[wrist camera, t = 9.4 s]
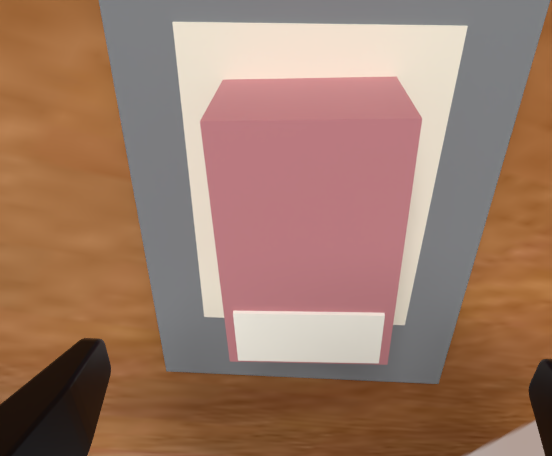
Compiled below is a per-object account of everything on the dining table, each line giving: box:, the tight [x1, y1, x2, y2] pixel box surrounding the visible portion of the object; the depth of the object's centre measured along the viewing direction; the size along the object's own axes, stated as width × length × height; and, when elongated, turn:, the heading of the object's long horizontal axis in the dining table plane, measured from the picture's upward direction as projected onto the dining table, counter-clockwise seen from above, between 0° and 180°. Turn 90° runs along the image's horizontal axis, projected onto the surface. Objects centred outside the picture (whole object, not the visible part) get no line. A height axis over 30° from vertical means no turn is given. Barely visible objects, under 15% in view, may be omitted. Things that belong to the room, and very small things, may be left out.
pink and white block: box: [200, 76, 422, 365], centre depth 14 cm, size 5×8×4 cm, turn 2°
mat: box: [99, 0, 550, 384], centre depth 16 cm, size 18×12×1 cm, turn 0°
